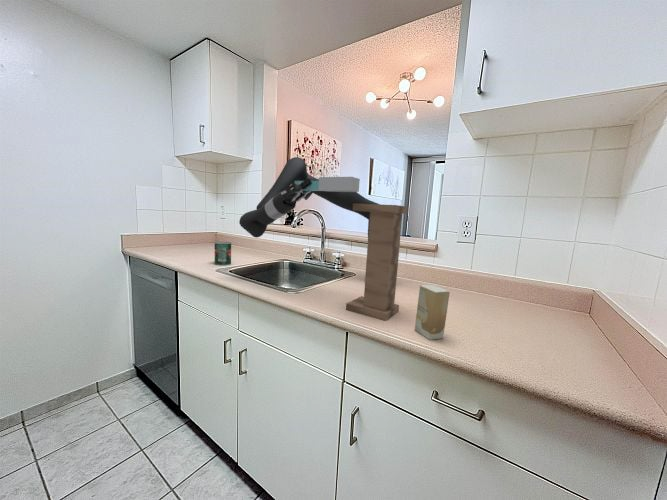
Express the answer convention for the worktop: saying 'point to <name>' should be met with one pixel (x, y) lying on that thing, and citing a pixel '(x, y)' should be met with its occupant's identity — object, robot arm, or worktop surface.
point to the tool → (334, 184)
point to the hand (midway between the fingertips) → (313, 181)
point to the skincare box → (431, 311)
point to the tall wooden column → (380, 261)
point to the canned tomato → (222, 253)
